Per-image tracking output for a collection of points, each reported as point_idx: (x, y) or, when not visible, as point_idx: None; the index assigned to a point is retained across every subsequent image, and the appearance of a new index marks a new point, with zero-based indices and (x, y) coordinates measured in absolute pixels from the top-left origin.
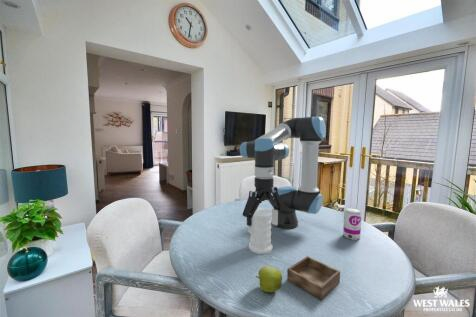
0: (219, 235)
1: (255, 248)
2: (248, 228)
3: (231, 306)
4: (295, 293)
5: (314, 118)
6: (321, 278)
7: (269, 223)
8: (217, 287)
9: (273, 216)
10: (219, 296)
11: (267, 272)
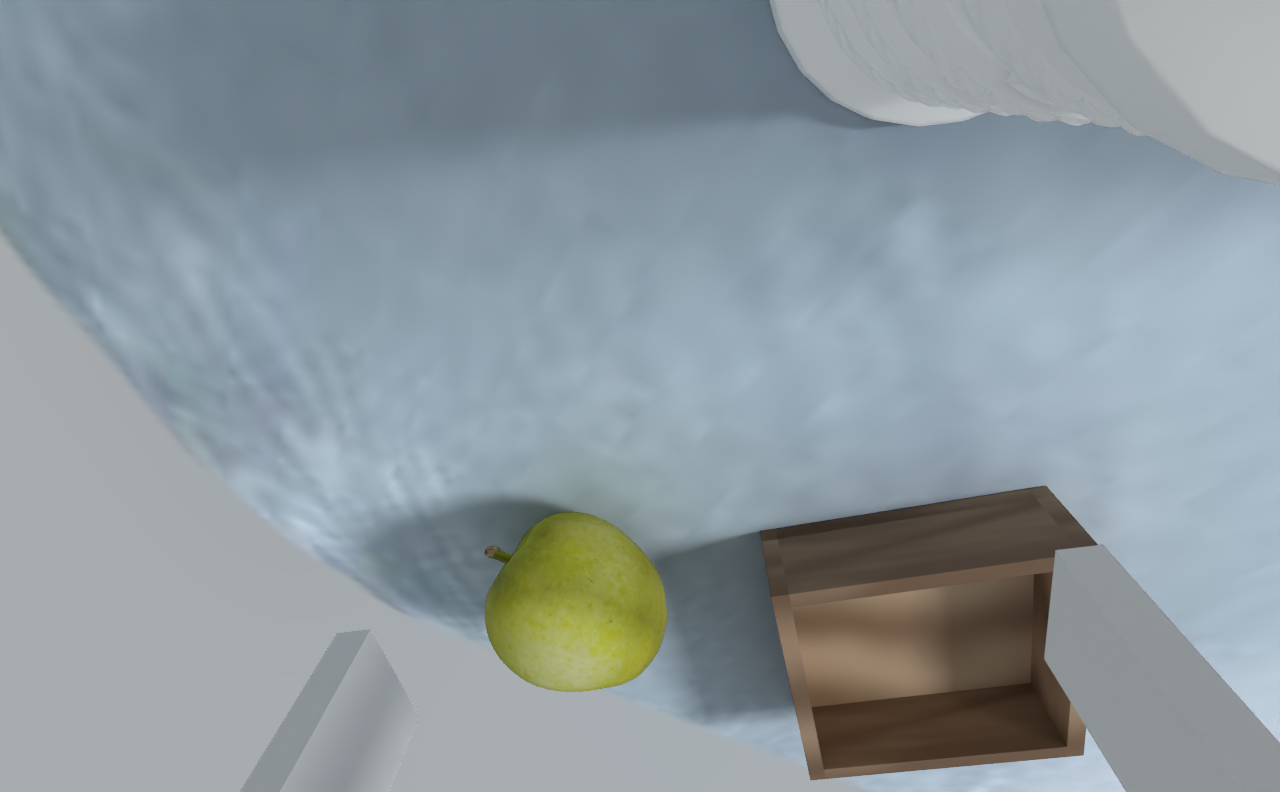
0: None
1: (811, 10)
2: (302, 720)
3: (309, 547)
4: (714, 625)
5: None
6: (969, 636)
7: None
8: (239, 379)
9: (1190, 787)
10: (246, 457)
11: (525, 677)
